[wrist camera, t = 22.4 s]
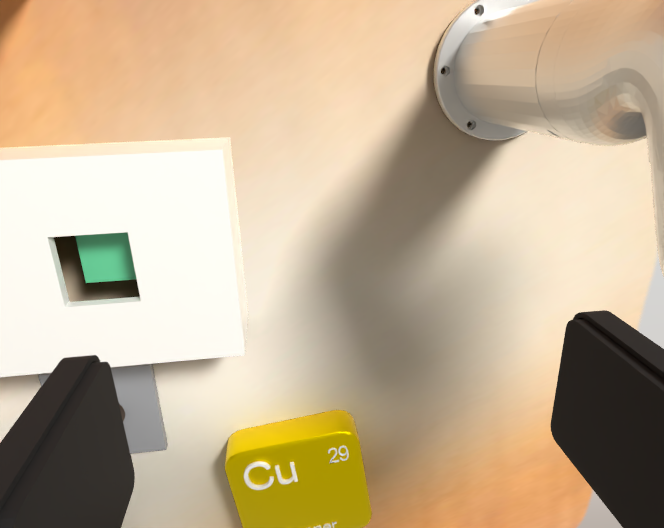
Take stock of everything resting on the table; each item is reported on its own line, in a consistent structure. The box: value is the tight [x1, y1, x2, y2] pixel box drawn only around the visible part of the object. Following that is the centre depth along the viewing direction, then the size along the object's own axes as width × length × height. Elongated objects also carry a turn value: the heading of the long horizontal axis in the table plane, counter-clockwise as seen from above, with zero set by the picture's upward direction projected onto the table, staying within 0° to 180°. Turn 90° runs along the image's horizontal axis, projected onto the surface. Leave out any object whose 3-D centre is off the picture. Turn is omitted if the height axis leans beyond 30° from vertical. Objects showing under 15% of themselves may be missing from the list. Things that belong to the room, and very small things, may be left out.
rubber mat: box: [38, 364, 167, 454], centre depth 53 cm, size 11×11×1 cm
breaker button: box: [75, 232, 136, 283], centre depth 44 cm, size 4×4×4 cm
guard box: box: [0, 137, 248, 377], centre depth 43 cm, size 22×18×8 cm
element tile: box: [225, 410, 372, 528], centre depth 58 cm, size 15×15×5 cm
